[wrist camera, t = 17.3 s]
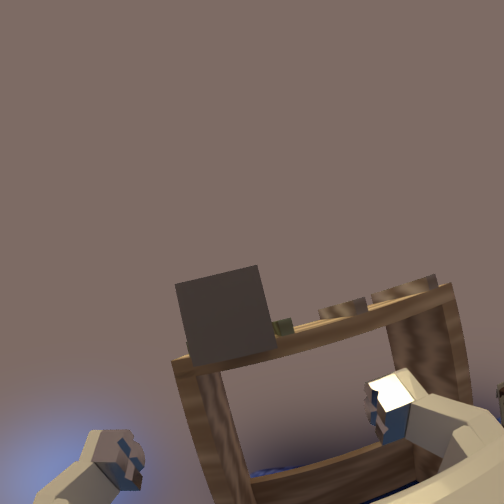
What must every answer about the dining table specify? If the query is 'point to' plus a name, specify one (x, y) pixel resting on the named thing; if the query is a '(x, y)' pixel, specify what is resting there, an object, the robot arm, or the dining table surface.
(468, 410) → the robot arm
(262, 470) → the dining table surface
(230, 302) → the grey brown bar
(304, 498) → the pine shelf
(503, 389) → the food container
